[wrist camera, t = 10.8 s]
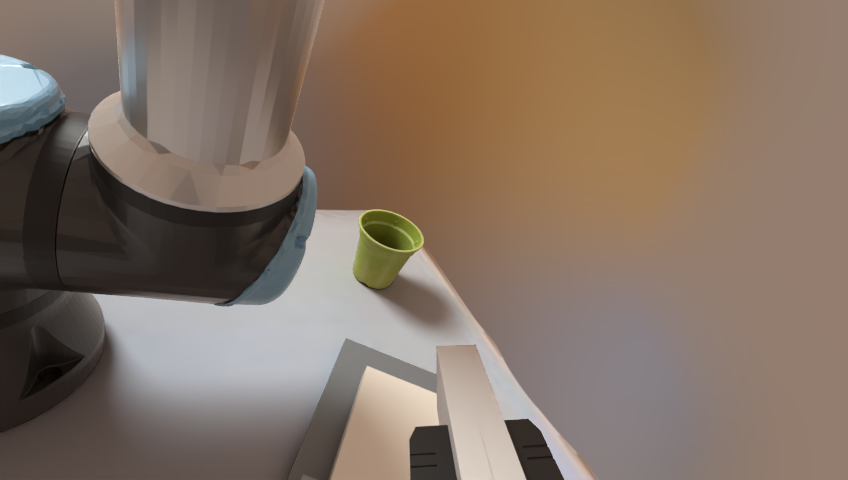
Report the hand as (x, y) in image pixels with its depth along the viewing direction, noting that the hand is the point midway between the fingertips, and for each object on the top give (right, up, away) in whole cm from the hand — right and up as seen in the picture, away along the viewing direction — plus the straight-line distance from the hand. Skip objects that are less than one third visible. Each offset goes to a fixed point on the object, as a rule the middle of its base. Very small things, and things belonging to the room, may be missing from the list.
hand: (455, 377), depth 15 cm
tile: (-4, -17, +15) cm, 23 cm away
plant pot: (-9, 0, +44) cm, 44 cm away
